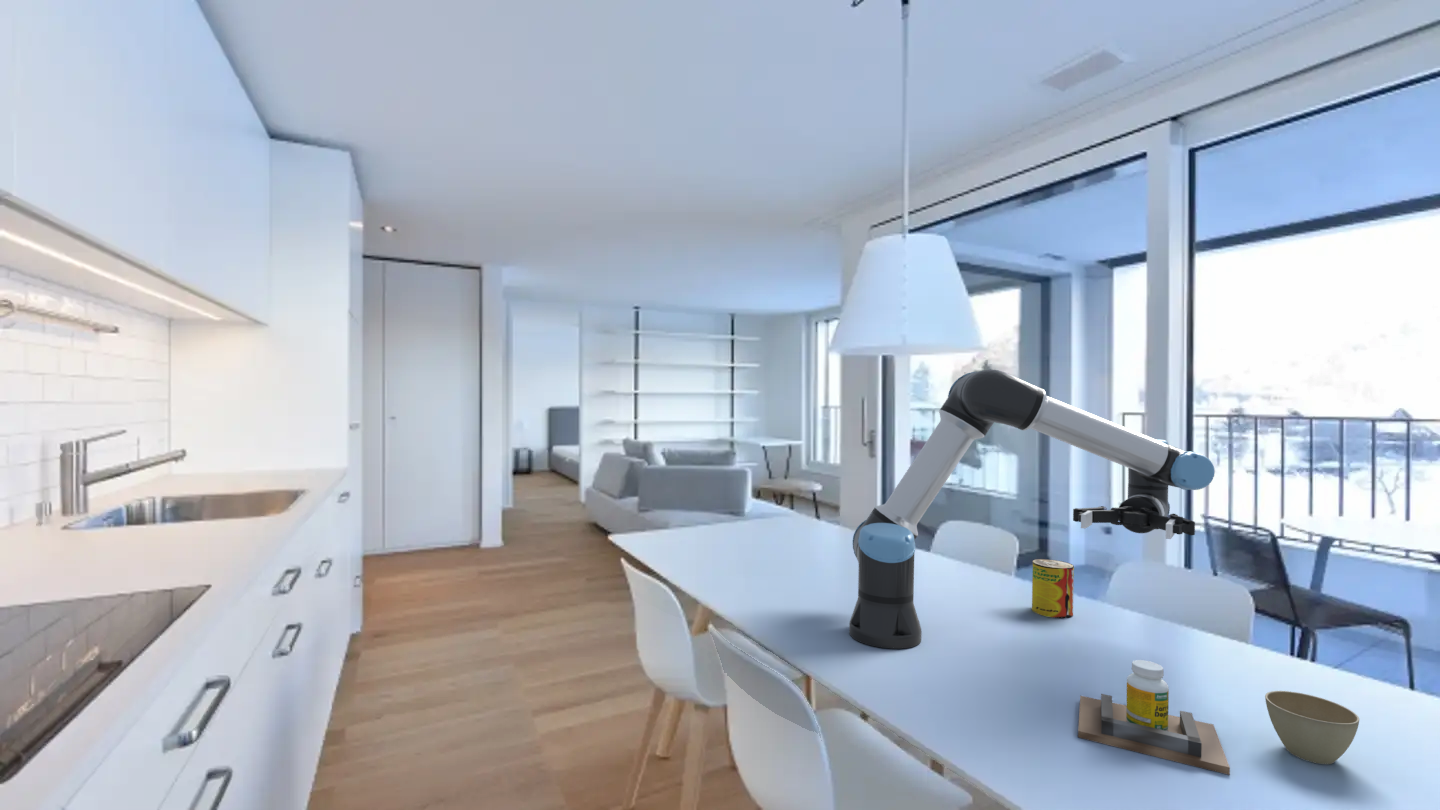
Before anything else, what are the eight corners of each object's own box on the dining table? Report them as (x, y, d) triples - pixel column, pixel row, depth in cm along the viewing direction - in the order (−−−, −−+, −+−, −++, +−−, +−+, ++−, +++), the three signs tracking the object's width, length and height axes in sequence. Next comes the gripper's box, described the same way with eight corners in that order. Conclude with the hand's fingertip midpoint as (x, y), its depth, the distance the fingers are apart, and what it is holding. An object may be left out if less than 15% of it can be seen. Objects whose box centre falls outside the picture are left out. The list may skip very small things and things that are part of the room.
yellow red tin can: (1050, 619, 150) (1051, 568, 150) (1023, 607, 159) (1024, 559, 159) (1081, 617, 152) (1082, 567, 152) (1053, 605, 161) (1054, 558, 161)
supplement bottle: (1136, 715, 100) (1136, 655, 101) (1174, 730, 96) (1175, 667, 96) (1119, 724, 98) (1120, 662, 98) (1158, 740, 93) (1159, 674, 93)
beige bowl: (1246, 738, 96) (1247, 691, 96) (1306, 736, 97) (1307, 689, 97) (1313, 776, 86) (1314, 723, 86) (1379, 774, 87) (1380, 722, 87)
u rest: (1078, 737, 95) (1078, 717, 95) (1080, 701, 107) (1080, 683, 107) (1229, 774, 86) (1230, 752, 86) (1213, 730, 98) (1213, 711, 98)
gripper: (1214, 539, 126) (1207, 557, 110) (1074, 523, 143) (1050, 536, 127) (1215, 502, 126) (1208, 514, 110) (1075, 490, 143) (1051, 499, 127)
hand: (1124, 526), depth 119 cm, fingers open, 13 cm apart
